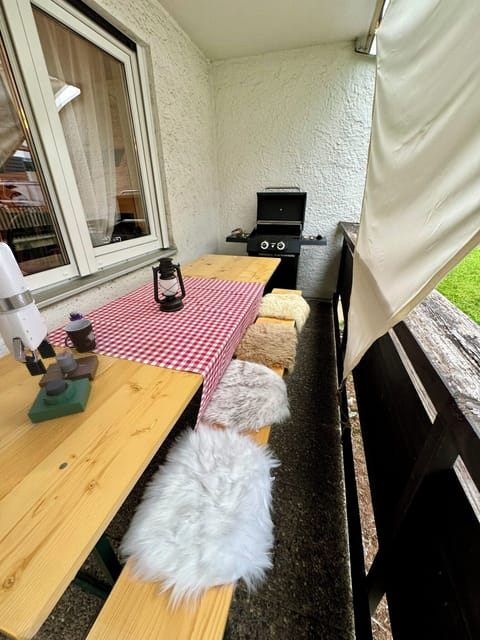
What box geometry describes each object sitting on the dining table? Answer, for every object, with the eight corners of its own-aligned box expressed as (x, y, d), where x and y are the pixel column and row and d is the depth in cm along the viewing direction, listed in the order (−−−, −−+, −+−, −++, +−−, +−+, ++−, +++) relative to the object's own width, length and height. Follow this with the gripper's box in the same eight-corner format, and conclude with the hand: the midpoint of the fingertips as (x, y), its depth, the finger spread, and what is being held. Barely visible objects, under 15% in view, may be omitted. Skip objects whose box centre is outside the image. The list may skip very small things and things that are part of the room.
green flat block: (33, 424, 66) (23, 408, 63) (46, 396, 74) (38, 382, 72) (84, 411, 69) (77, 396, 66) (91, 386, 77) (85, 372, 75)
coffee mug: (91, 339, 101) (82, 317, 97) (104, 345, 97) (96, 322, 93) (60, 355, 93) (49, 331, 88) (74, 362, 89) (63, 337, 84)
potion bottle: (67, 344, 99) (55, 316, 94) (85, 332, 106) (74, 306, 101) (84, 347, 97) (73, 319, 91) (101, 335, 104) (92, 308, 98)
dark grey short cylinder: (45, 398, 67) (42, 392, 66) (51, 386, 71) (48, 381, 70) (64, 393, 68) (61, 388, 67) (69, 383, 72) (66, 377, 71)
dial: (75, 370, 80) (69, 356, 77) (59, 374, 79) (52, 360, 76) (78, 362, 83) (72, 348, 81) (63, 365, 82) (57, 351, 80)
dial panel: (42, 391, 77) (37, 383, 75) (53, 371, 85) (49, 363, 84) (93, 380, 80) (90, 372, 78) (99, 361, 88) (96, 354, 87)
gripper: (10, 289, 63) (40, 350, 72) (-33, 321, 48) (12, 392, 57) (44, 285, 65) (70, 344, 73) (13, 314, 50) (50, 384, 59)
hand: (44, 364), depth 65 cm, fingers open, 6 cm apart
